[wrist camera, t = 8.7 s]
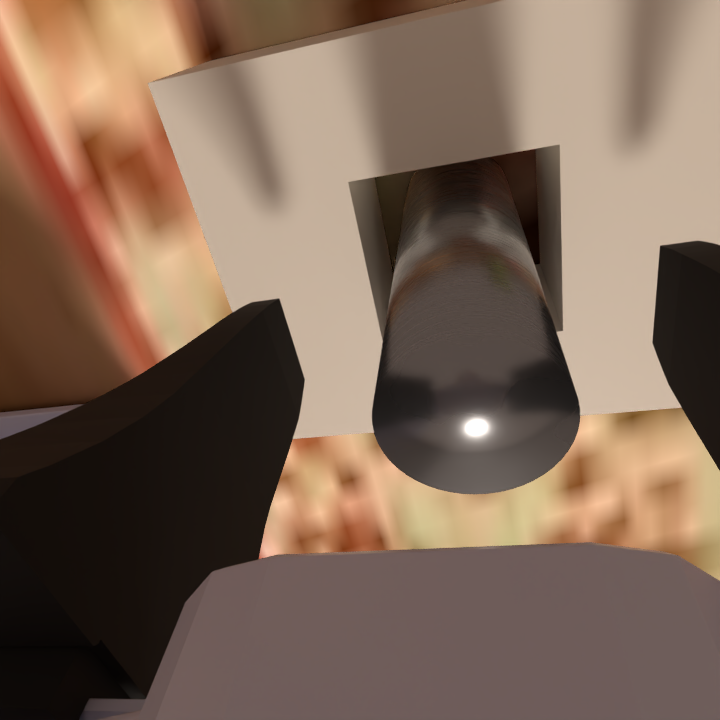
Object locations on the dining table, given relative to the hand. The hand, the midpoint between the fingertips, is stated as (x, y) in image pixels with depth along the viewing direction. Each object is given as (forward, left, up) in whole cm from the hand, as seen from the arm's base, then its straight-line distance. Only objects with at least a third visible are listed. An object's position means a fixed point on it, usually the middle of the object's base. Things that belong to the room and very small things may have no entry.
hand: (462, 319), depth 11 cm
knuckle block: (0, 0, -7) cm, 7 cm away
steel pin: (0, 0, -7) cm, 7 cm away
